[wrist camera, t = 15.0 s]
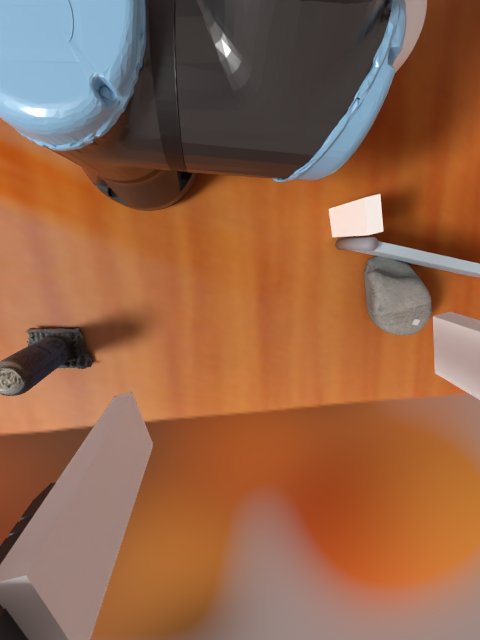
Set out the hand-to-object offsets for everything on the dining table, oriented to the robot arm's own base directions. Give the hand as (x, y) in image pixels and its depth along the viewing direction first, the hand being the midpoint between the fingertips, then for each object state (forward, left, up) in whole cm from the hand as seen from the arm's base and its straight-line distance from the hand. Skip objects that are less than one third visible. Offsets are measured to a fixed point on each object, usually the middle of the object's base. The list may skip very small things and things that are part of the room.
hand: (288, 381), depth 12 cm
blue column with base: (+3, -29, -31) cm, 43 cm away
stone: (+7, +22, -31) cm, 39 cm away
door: (+2, +26, -30) cm, 40 cm away
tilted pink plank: (-5, +16, -31) cm, 35 cm away
